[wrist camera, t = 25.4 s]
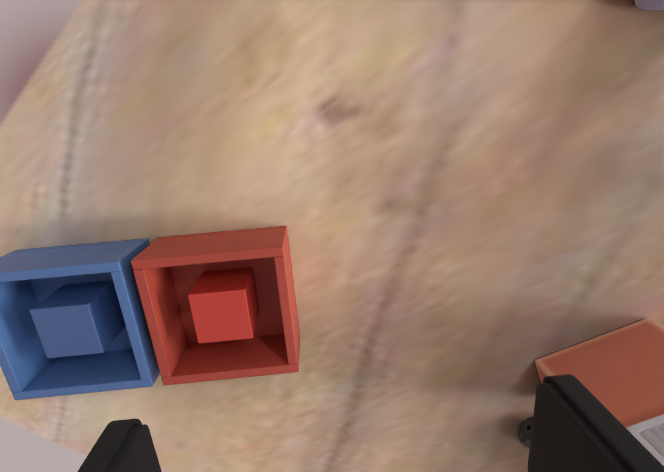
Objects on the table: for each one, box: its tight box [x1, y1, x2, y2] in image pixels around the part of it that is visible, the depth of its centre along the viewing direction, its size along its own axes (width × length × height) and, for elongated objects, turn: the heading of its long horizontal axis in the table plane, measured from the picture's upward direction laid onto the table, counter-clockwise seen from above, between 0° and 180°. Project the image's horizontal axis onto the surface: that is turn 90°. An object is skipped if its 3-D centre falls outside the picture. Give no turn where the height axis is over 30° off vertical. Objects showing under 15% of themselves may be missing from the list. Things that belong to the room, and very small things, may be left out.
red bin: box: [131, 226, 300, 385], centre depth 34 cm, size 12×12×6 cm
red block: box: [188, 267, 259, 343], centre depth 34 cm, size 5×5×5 cm
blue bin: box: [0, 238, 160, 400], centre depth 33 cm, size 12×12×6 cm
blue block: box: [29, 280, 126, 358], centre depth 33 cm, size 5×5×5 cm
